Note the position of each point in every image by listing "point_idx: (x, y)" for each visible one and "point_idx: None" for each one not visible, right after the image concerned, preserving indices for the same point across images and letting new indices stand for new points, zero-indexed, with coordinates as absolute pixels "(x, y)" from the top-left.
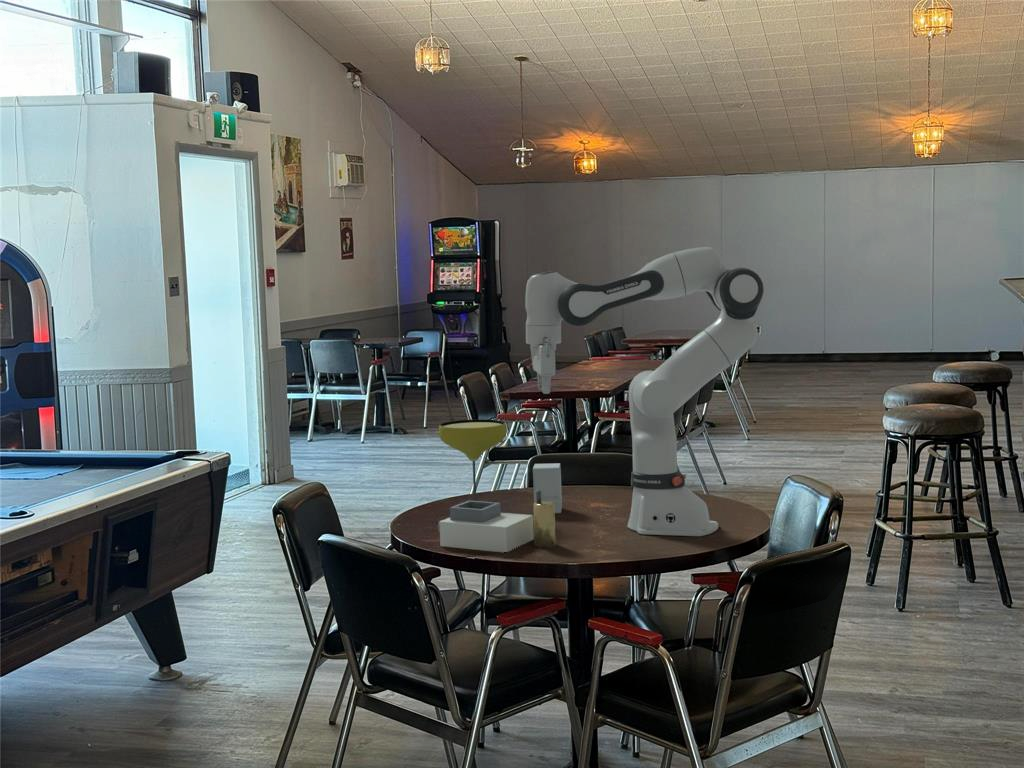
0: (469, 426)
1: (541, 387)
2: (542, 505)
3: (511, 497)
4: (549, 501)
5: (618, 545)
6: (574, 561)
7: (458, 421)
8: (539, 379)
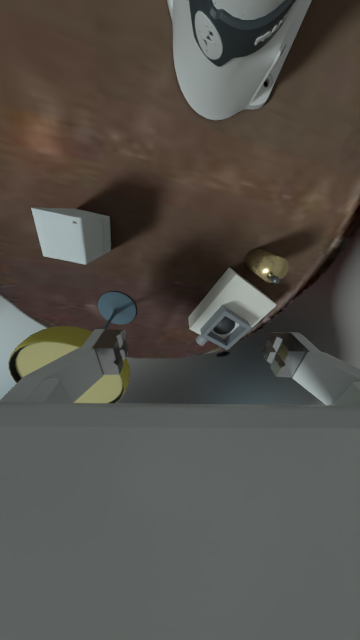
0: None
1: (124, 350)
2: (284, 273)
3: (18, 266)
4: (105, 233)
5: (299, 167)
6: (330, 239)
7: None
8: (83, 385)
